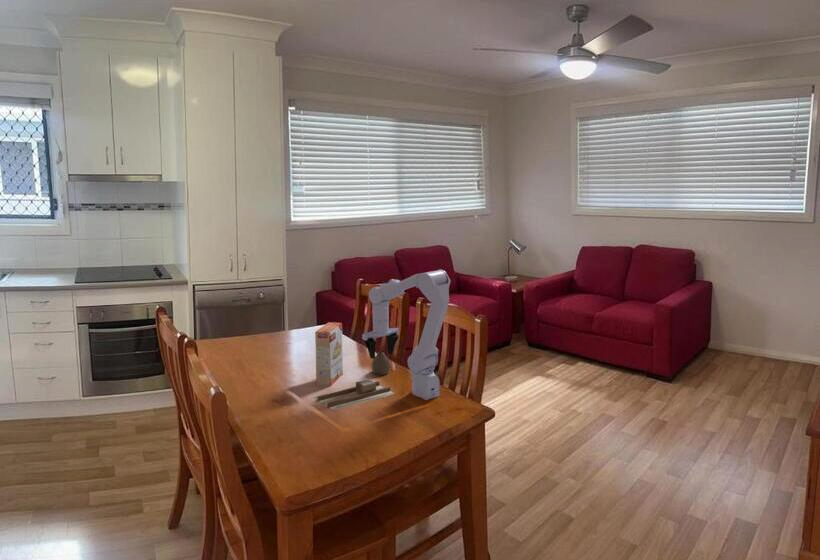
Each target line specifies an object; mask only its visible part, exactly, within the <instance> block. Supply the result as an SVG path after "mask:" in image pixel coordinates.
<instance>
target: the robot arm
mask: <svg viewBox="0 0 820 560" xmlns="http://www.w3.org/2000/svg"><path fill="white" fill-rule="evenodd" d="M450 284H451V279H450V277H449V275H448V274H447V271H445V270H444V269H437V270H432V271H427V272H422V273H416V274H413V275H411V276H409V277H407V278H405V279H402V280H399V279H394V278H392V279H389V281H388V282H386V283H380V286H375V287H372V288H370V289H369V291H368V298H369V300H370V302H371V304H372V331H368V332H366V333H362V335H361V338H362V340H363V343H364V344H365V346H366V347H367V350H368V354H369V358H370V359H372V360H373V359H375V357H376V345H377V341H376V340H375V339H378V338H381V337H382V338H383V337H385V339H386V348H387V351H386V352H387V355H393V352H394V349H395V346H396V344H397V341H398V340H399V335H400V328H397V327H394V328H393V327H392V328H389V327H390V323H389V322H390V320H389V319H390V317H389V314H390V313H389V311H390V310H389V309H390V308H389V306H390V305H391V304H390V302H391V300H392V299H395V298H397V297H400V296H403V295H404V292H405V291H406V290H408V289H411V288H414V287H415V288H416V289H419V290H420V292H421V294H423V295H424V297H425V298H426V299H427V300H428V301H429V302H430V306H429V310H428V313H427V317H426V320H425V322H424V326H423V330H422V334H421V335H420V340H419V343H418V344H417V345H416V347H414V349H412V353H411V354H410V355H409V356H408V357H407V366H408V369H409V371H410V372H411V373H412V374H411V375H412V377H411V381H412V382H411V383H412V384H411V386H412V388H411V389H412V392H411V393H412V395H413V396H415V397H419V398H421V399H423V400H425V401H427V400H430V399H434V398H438V397H440V383H441V382H440V378H439V376H437V375H436V374H435V371H434V370H435V367H436V366H437V365H438V362H439V356H438V355H439V349H438V347H436V346H437V342H438V339H439V336H440V333H441V330H442V326H443V323H444V320H445V316H446V314H447V310H448V308H449V307H448V306H449V304H450V293H449V292H450V291H449V289H450Z"/></svg>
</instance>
